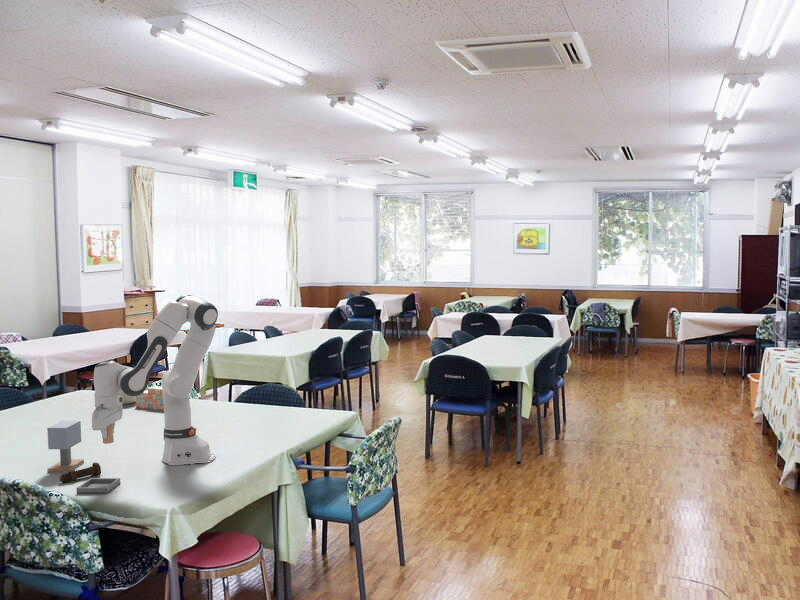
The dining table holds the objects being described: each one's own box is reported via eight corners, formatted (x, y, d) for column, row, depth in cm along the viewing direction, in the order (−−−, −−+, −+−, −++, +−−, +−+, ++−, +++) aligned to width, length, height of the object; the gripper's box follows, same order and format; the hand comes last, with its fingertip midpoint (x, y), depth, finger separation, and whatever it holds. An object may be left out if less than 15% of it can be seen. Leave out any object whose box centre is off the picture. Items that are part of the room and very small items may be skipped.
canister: (134, 398, 440) (133, 364, 439) (145, 402, 427) (144, 367, 425) (104, 402, 429) (102, 367, 427) (114, 407, 415) (112, 371, 413)
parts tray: (120, 483, 281) (120, 478, 281) (107, 493, 269) (106, 488, 269) (91, 483, 281) (90, 478, 281) (76, 493, 270) (76, 488, 270)
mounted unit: (83, 462, 308) (82, 420, 307) (69, 472, 296) (67, 428, 294) (62, 462, 309) (60, 420, 307) (46, 472, 296) (44, 428, 294)
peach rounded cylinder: (115, 440, 290) (114, 423, 290) (110, 443, 286) (110, 426, 286) (105, 440, 290) (104, 423, 290) (101, 443, 286) (100, 426, 286)
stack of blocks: (135, 407, 414) (134, 386, 413) (143, 405, 420) (142, 384, 419) (165, 410, 406) (164, 389, 405) (172, 408, 412) (172, 387, 411)
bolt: (60, 487, 283) (98, 477, 293) (64, 484, 279) (102, 473, 290) (56, 473, 284) (94, 464, 295) (60, 470, 281) (98, 460, 292)
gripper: (102, 407, 276) (104, 442, 277) (124, 396, 297) (126, 429, 298) (86, 407, 277) (88, 442, 278) (109, 396, 297) (111, 429, 298)
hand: (108, 435), depth 288 cm, fingers closed on peach rounded cylinder, 4 cm apart
